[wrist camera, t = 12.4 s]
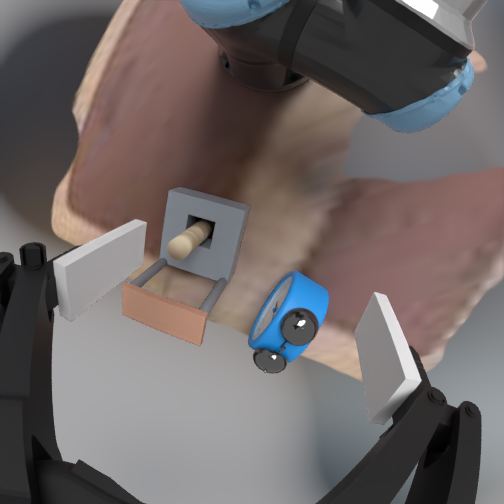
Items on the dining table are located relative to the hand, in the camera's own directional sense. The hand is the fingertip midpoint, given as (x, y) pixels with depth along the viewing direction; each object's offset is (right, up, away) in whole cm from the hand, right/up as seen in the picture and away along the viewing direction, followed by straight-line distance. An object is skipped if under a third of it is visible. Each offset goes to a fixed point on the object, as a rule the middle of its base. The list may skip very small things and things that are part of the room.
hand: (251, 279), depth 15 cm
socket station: (-8, +3, +32) cm, 33 cm away
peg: (-7, +6, +30) cm, 32 cm away
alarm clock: (+7, -6, +32) cm, 33 cm away
